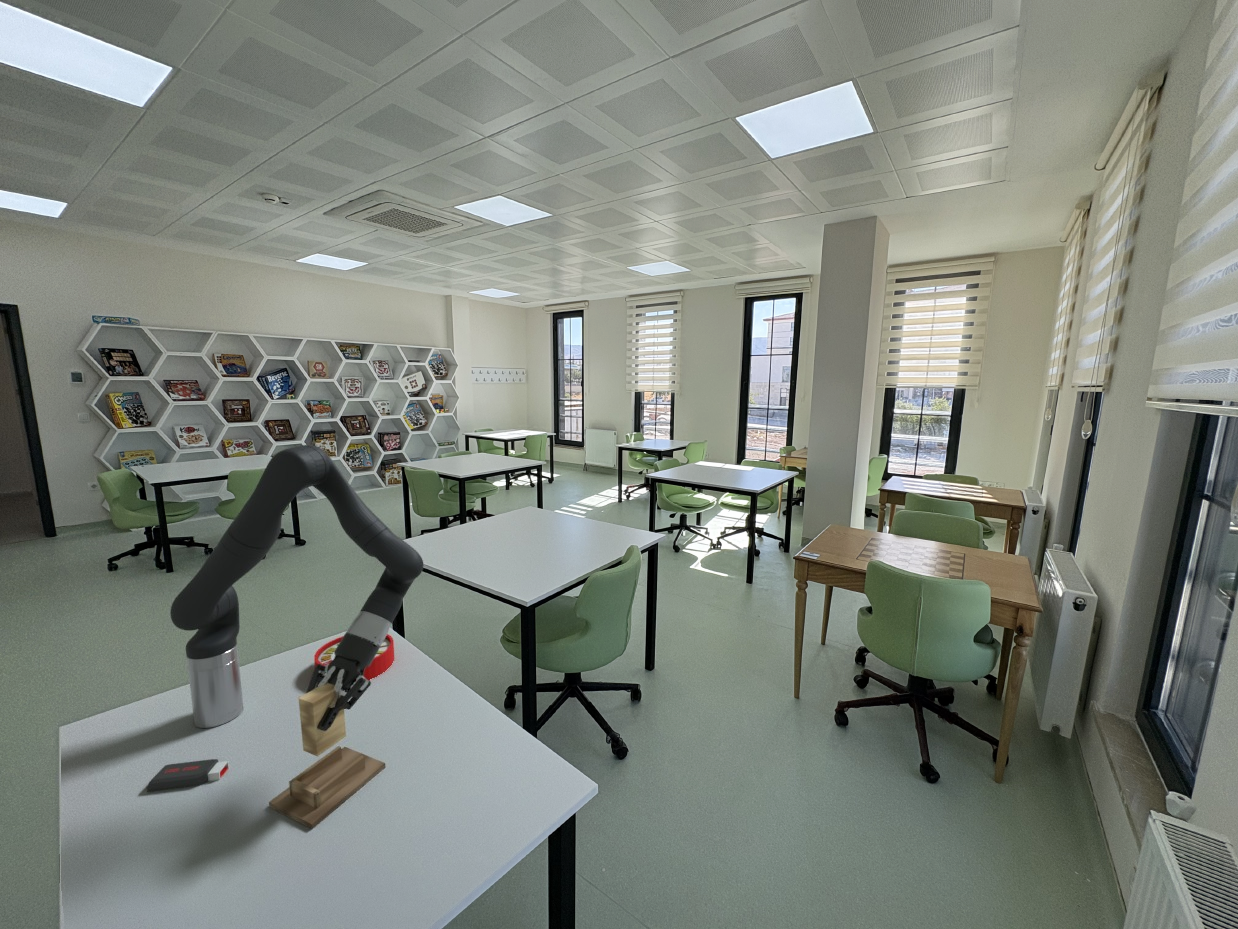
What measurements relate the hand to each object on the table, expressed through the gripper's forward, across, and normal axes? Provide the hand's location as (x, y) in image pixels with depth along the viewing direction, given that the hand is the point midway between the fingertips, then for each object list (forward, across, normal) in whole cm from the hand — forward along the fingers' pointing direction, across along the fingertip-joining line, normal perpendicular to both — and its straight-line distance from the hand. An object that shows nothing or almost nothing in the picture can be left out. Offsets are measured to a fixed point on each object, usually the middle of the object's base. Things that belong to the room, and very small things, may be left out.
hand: (313, 726), depth 93 cm
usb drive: (+16, -28, +6) cm, 33 cm away
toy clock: (-14, -33, +36) cm, 51 cm away
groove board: (+9, 0, +12) cm, 15 cm away
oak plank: (+2, 0, +5) cm, 5 cm away
